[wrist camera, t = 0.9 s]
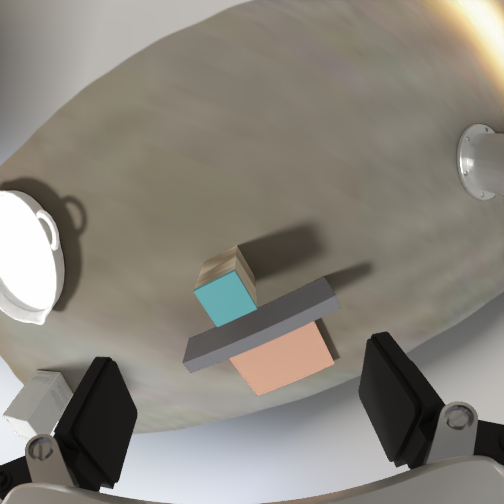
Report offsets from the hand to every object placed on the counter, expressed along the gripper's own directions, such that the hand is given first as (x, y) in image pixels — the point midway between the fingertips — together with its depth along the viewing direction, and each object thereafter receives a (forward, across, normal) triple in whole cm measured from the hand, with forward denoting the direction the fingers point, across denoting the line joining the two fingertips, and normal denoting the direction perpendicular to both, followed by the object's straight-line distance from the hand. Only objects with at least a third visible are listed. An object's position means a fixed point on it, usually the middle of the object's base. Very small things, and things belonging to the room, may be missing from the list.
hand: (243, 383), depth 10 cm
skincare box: (+31, +42, +29) cm, 60 cm away
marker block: (+29, +2, +7) cm, 30 cm away
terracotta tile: (+29, -5, +22) cm, 37 cm away
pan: (+31, +38, +1) cm, 49 cm away
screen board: (+29, -1, +14) cm, 32 cm away
